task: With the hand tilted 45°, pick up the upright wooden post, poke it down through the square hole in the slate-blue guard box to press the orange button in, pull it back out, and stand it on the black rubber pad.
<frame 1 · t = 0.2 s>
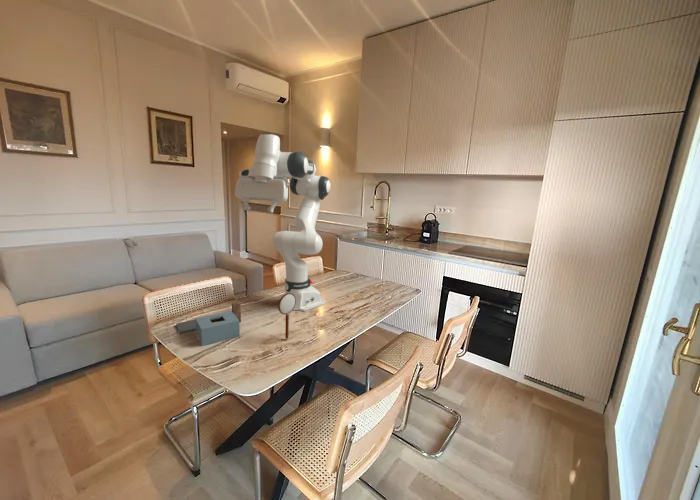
hand: (258, 211, 109), 52 cm above the table, tool tilted 20°, fingers open, 8 cm apart
pad: (190, 327, 126), on the table
magnifying glass: (286, 340, 120), on the table
guard box: (218, 335, 121), on the table
button: (217, 326, 120), point 4 cm above the table, slide at 0.0 cm
upright wooden post: (236, 321, 133), on the table
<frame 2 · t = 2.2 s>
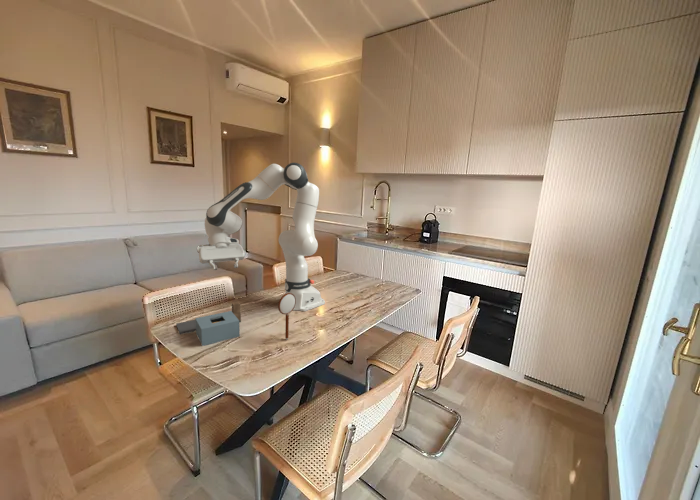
hand: (226, 268, 138), 22 cm above the table, tool tilted 45°, fingers open, 8 cm apart
nothing on the table moved.
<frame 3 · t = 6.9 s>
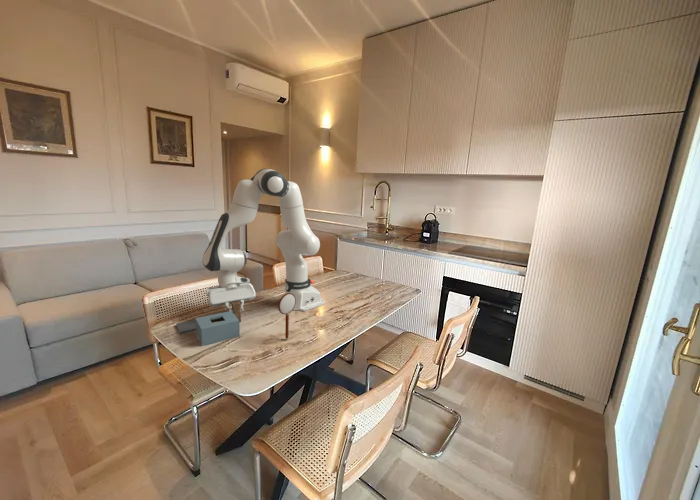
hand: (236, 311, 132), 5 cm above the table, tool tilted 45°, fingers closed on upright wooden post, 3 cm apart
upright wooden post: (236, 321, 133), on the table, touching gripper
everything else where it was.
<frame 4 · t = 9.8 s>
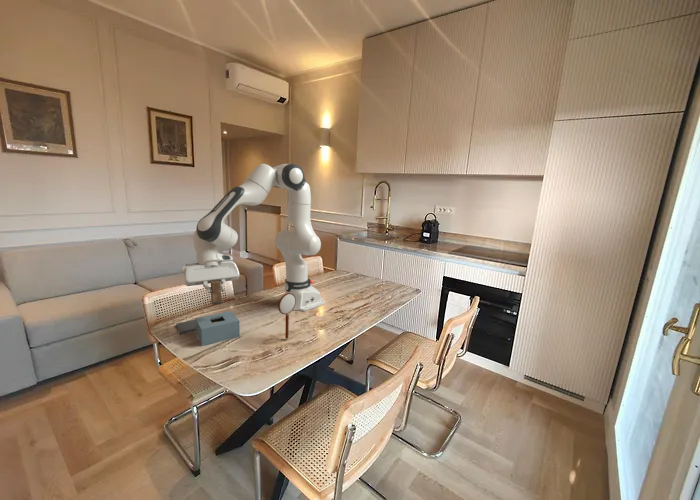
hand: (216, 291, 117), 19 cm above the table, tool tilted 45°, fingers closed on upright wooden post, 3 cm apart
upright wooden post: (216, 303, 118), point 14 cm above the table, touching gripper
everything else where it was.
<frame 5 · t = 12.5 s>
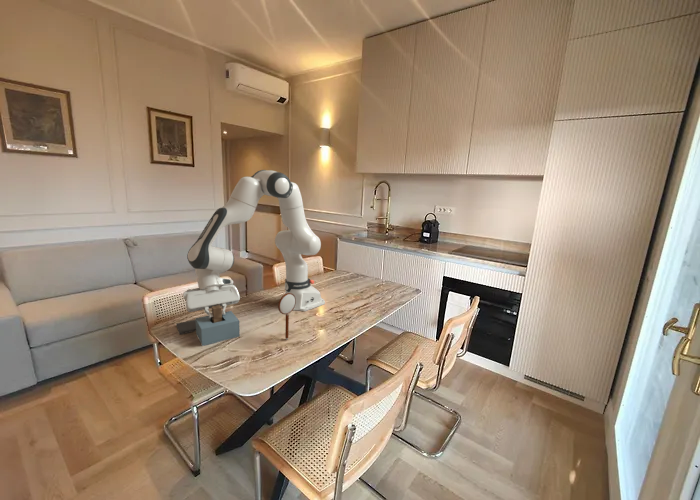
hand: (217, 316, 118), 8 cm above the table, tool tilted 45°, fingers closed on upright wooden post, 3 cm apart
button: (217, 330, 120), point 2 cm above the table, slide at 1.7 cm, touching upright wooden post
upright wooden post: (217, 327, 120), point 3 cm above the table, touching button, gripper
everything else where it was.
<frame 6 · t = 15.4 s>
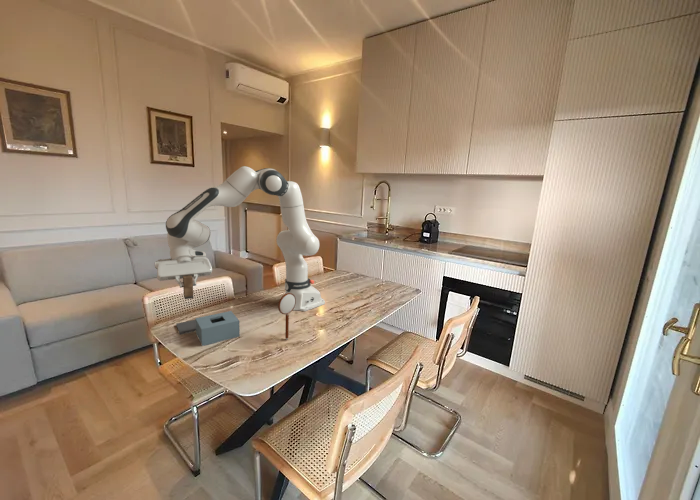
hand: (188, 286, 121), 19 cm above the table, tool tilted 45°, fingers closed on upright wooden post, 3 cm apart
button: (217, 330, 120), point 2 cm above the table, slide at 1.7 cm
upright wooden post: (188, 297, 122), point 14 cm above the table, touching gripper
everything else where it was.
when the fingers open (7 cm above the table, at t = 17.9 s): upright wooden post drops 1 cm, resting on pad.
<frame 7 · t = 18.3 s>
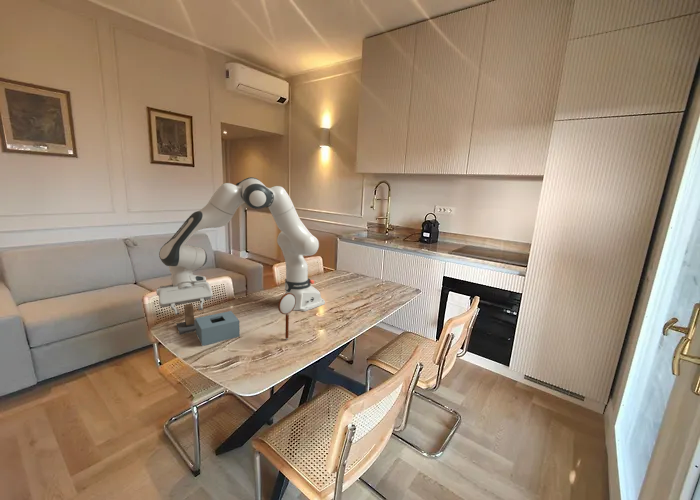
hand: (189, 311, 124), 7 cm above the table, tool tilted 45°, fingers open, 7 cm apart
upright wooden post: (189, 325, 126), point 1 cm above the table, touching pad
everything else where it was.
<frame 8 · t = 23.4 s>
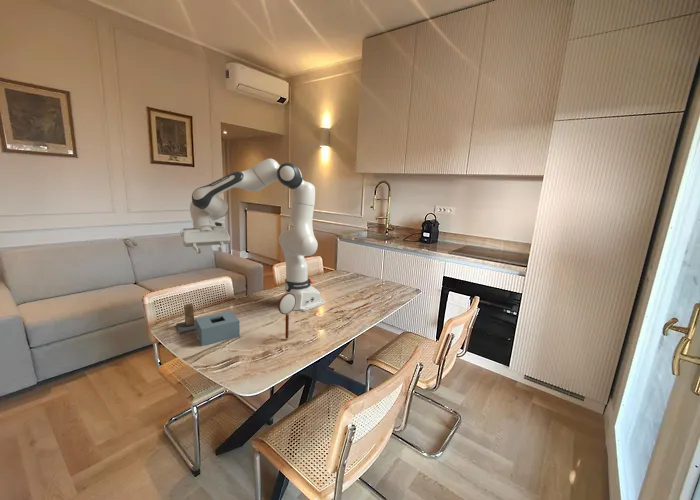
hand: (210, 251, 136), 29 cm above the table, tool tilted 45°, fingers open, 8 cm apart
nothing on the table moved.
at the end: button slide at 1.7 cm; upright wooden post 0.0 cm off-centre on the pad, point 1.0 cm above the pad's base; upright wooden post tilted 0° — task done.
